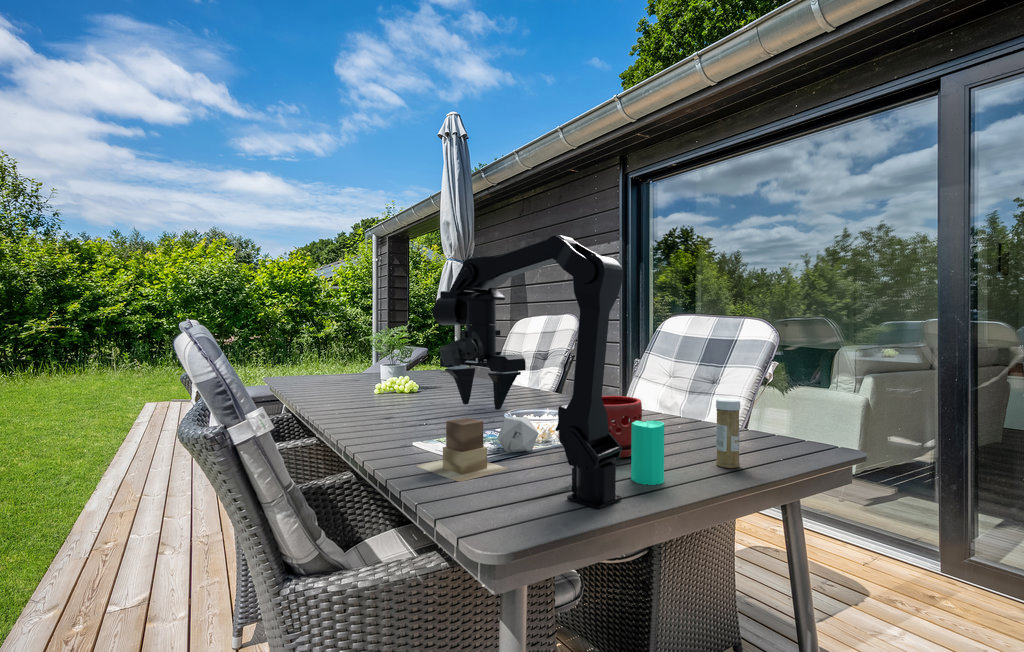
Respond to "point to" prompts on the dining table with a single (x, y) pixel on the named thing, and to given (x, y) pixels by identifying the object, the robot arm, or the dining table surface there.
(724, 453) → the sprinkles bottle
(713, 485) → the dining table surface
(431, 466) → the building board
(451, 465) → the oak block
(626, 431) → the plant pot
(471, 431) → the walnut cube
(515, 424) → the die
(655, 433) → the candle
